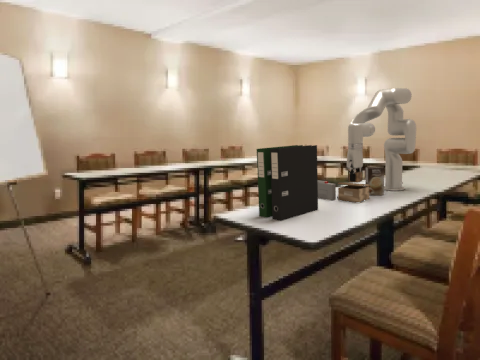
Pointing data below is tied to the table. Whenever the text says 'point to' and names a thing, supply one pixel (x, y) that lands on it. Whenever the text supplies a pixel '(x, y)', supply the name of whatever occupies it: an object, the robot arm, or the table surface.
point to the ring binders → (287, 181)
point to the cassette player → (326, 190)
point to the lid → (355, 184)
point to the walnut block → (357, 177)
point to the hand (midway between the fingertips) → (355, 180)
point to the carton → (353, 193)
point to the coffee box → (375, 180)
